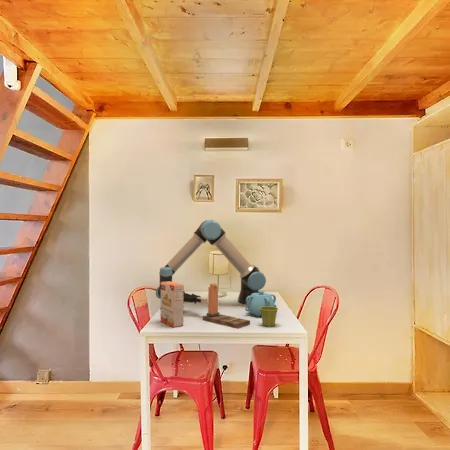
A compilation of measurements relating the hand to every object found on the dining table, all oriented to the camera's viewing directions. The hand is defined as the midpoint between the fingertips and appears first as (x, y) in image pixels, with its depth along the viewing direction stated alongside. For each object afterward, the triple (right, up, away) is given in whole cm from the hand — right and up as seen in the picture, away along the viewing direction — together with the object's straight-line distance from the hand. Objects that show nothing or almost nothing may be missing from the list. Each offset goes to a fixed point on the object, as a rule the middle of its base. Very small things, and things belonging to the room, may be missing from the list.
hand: (206, 301), depth 207 cm
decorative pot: (+31, -10, +9) cm, 33 cm away
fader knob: (+4, -7, -3) cm, 8 cm away
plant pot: (+33, -10, -13) cm, 37 cm away
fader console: (+11, -9, -9) cm, 17 cm away
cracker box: (-17, -9, -13) cm, 23 cm away
